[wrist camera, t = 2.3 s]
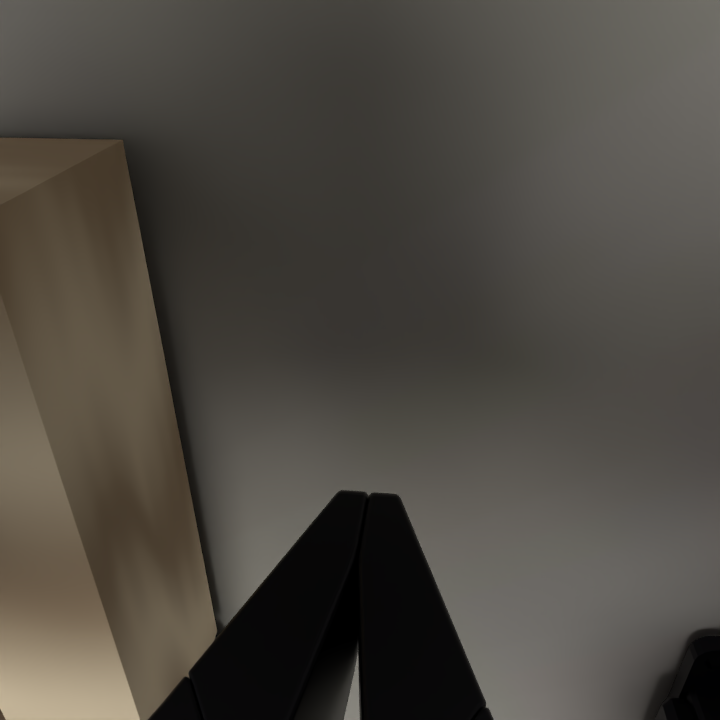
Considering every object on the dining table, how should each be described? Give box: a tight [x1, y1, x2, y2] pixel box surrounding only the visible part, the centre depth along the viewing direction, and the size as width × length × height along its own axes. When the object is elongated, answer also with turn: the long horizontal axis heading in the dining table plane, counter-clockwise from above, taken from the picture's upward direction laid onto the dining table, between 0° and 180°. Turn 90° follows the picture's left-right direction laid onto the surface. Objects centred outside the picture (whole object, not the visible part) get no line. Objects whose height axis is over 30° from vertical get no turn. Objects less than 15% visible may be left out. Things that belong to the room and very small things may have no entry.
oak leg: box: [0, 138, 217, 720], centre depth 13 cm, size 16×3×4 cm, turn 0°
